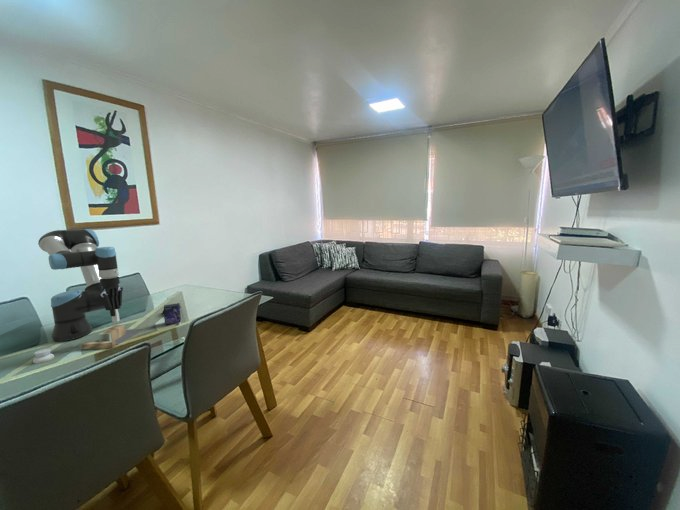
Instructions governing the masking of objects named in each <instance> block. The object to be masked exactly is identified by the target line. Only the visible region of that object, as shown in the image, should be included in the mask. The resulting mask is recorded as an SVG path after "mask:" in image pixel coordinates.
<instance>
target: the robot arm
mask: <svg viewBox="0 0 680 510" xmlns="http://www.w3.org/2000/svg"><path fill="white" fill-rule="evenodd" d="M38 239H39V240H38V243H37V244H38V246H39V248H40V250H42V251H44V252H45V253H47V255H49V256H48V264H49V267H50V269H51V270H55V271H56V270H67V269H73V268H80V270H81V273H82V276H83V278H84V282H85V285H86V287H84V291H83V290H81V289H80V288H79V289H71V290H67V291H63V292H59V293H57V294H55V295H53V296H52V297H51V298H50V307H51V310H52V316H53V321H54V325H53V326H54V327H53V329H52V330H53V331H52V334H51V339H53V340H54V342H65V341H70V340H74V339H79V338H82V337H83V336H86V335H89V334H91V333H92V332H93V326H92V325H91V324H90V323H89V320H88V319H87V315H86V313H91V312H95V311H99V310H103V309H104V310H105V311H109V313H110V317H111V322H112V323H118V322H120V321H121V320H120V311H119V309H121V307H122V306H123V305H122V303H123V302H122V301H123V300H122V299H123V290H124V288H123V287H120V286H119V284H120V282H121V281H120V277H119V269H118V267H119V266H118V261H117V252H116V249H115V247H114V246H101V247H99V246H100V241H99V238H98V235H97V233H96V232H95V231H94V230H92V229H90V228H86V229H85V228H81V229H63V230H62V229H59V230H58V229H57V230H53V231H48V232H47V233H44V234H43V235H42V236H41V237H40V238H38ZM53 340H52V341H53Z"/></svg>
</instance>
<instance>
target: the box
mask: <svg viewBox="0 0 680 510" xmlns="http://www.w3.org/2000/svg"><path fill="white" fill-rule="evenodd" d="M180 307H181V305H180V302H177V303H168V304H164V305H163V310H164V315H163V317H164V326H167V325H172V324H173V325H174V324H178V323H181V322H182V321H181V320H182V318H181V317H182V316H181V308H180Z"/></svg>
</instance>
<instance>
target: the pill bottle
mask: <svg viewBox="0 0 680 510" xmlns="http://www.w3.org/2000/svg"><path fill="white" fill-rule="evenodd" d="M34 356H35V357H34V358H33V359H32V364H34V365H36V364H37V365H38V364H43V363H45V362H48V361H51V360H53V359H55V354H54V353H51V349H50V348H43V349H39V350H37V351H35V352H34Z"/></svg>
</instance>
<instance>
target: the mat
mask: <svg viewBox="0 0 680 510" xmlns="http://www.w3.org/2000/svg"><path fill="white" fill-rule="evenodd" d="M142 330H143V329H142V328H135V329H134V328H133V329H131V328H130V329H126V334H125V335H123V336H122V337H120V338H118V339H117V340H115V343H116V346H118V345H120V344H121V343H123V342H125V341H126V340H128V339H129V338H131V337H133V336H134V335H136V334H138V333H139V332H141V331H142ZM94 342H99V339H97V340H95V341H94Z"/></svg>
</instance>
